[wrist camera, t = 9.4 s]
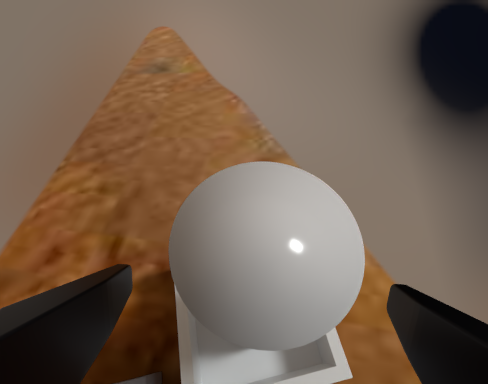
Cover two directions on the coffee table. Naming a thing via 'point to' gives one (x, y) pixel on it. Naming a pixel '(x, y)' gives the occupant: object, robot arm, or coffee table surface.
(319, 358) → the tray
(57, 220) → the coffee table surface
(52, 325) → the robot arm
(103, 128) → the coffee table surface
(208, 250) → the white bulb-shaped piece
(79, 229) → the coffee table surface
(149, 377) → the grey square frame
